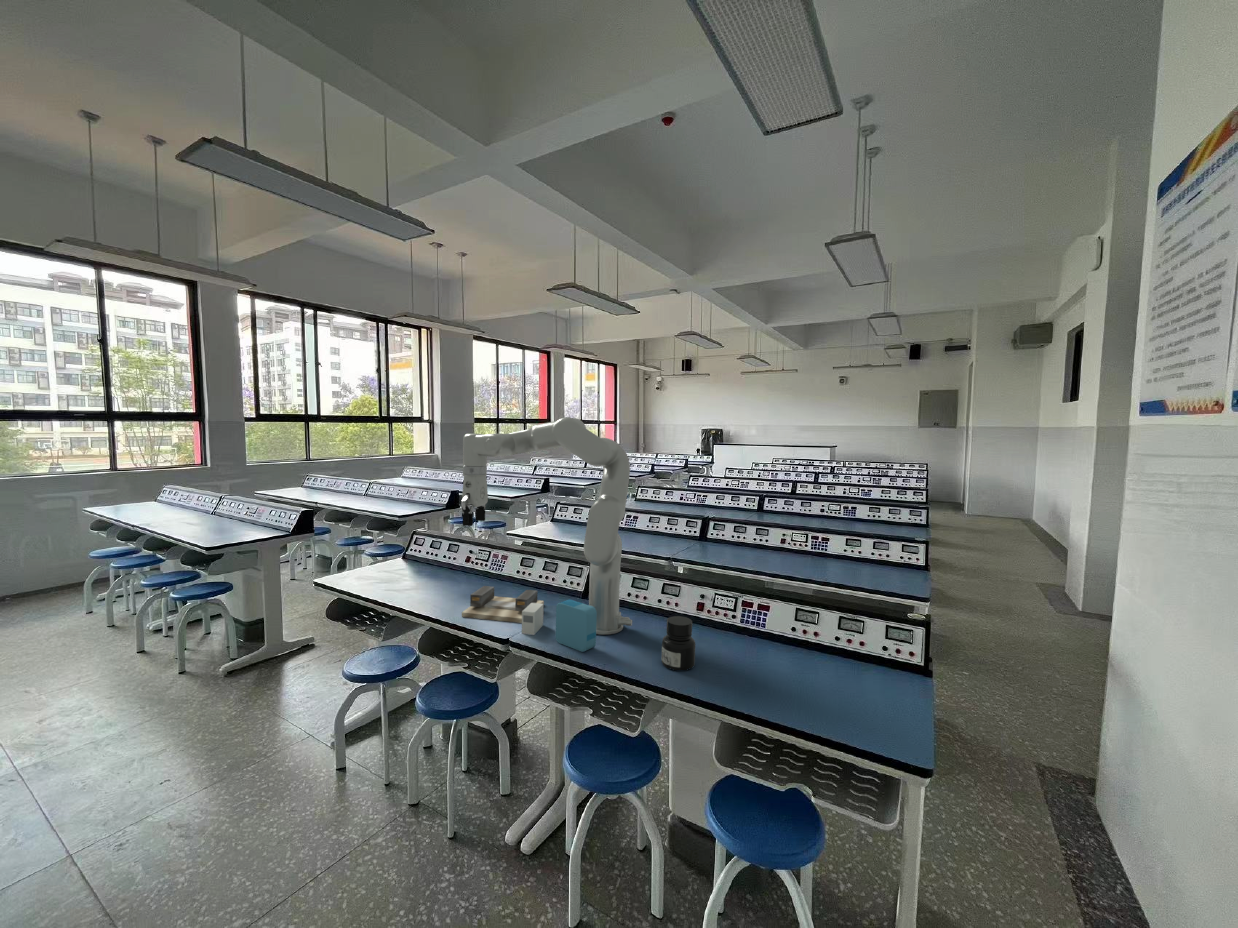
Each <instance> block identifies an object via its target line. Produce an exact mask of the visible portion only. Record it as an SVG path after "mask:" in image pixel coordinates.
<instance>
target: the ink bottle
mask: <svg viewBox="0 0 1238 928" xmlns="http://www.w3.org/2000/svg"><path fill="white" fill-rule="evenodd" d="M692 635H693V621H692V619H690V618H689V617H686V616H681V615H674V616H670V617H667V619H666V635H664V636H663V638H662V640H661V664H662V665H663V666H664V667H665V668H667V669H668V668H671V669H674V670H673V671H675V670H685V671H688V670H687V669H689V668H692V667H693V666H694V667H695V665H696V640H695V639H694V638H693V637H692ZM694 667H693V668H694ZM693 668H692V669H693ZM671 669H670V670H671ZM689 670H690V669H689Z"/></svg>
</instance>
